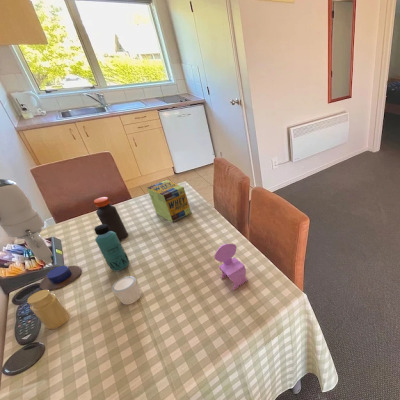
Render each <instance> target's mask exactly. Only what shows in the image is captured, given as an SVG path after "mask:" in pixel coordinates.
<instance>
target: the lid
mask: <svg viewBox="0 0 400 400" xmlns="http://www.w3.org/2000/svg"><path fill="white" fill-rule="evenodd" d="M71 274H72V273H71V271H70V270H69V268H68V267H67V265H59V266H57V267H54V268H52V269H51V270H49V271H48V272H47V273H46V276H47V278H48V279H49V280H50V282H51V283H59V282H62V281H64V280H66V279H67V278H69V277H70V276H71Z"/></svg>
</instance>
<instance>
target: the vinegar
mask: <svg viewBox="0 0 400 400" xmlns="http://www.w3.org/2000/svg"><path fill="white" fill-rule="evenodd" d="M110 201H111V200H110V199H109V197H107V196H102V197H101V196H100V197H98V198H95V199H94V200H93V203H94V206H95V207H96V208H97V209H96V211H95V213H96V215H97V217H98V219H99V221H100V224H101V225H102V224H106V225H108V227H109V228H110V231H112V232H115V233H116V235H117V237H118V239H119V241H120V242H122V241H123V240H125V239H127V238H128V236H129V233H128V231H127V229H126V226H125V225H124V222H123V221H122V218H121V217H120V214H119V212H118V210H117V208H116V206H115V205H112V204H111V202H110Z"/></svg>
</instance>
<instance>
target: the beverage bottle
mask: <svg viewBox="0 0 400 400" xmlns="http://www.w3.org/2000/svg"><path fill="white" fill-rule="evenodd" d="M94 232H95V235H97V236H96V237H95V241H94V242H95V243H96V245H97V246H98V248H99V251H100V252H101V254H102V257H103V259H104V260H105V262H106V264H107V266H108V268H109V269H110V270H111V271H112V272H118V271H121V270H123V269H125V268H127V267H128V266H129V265H130V259H129V256H128V254H127V253H126V251H125V248H124V247H123V245H122V243H121V241H119V239H118V237H117V235H116V233H115V232H112V231H110V228H109V227H108V225H106V224H102V223H101V224H98V225H97V226H95V227H94Z"/></svg>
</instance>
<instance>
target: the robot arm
mask: <svg viewBox="0 0 400 400" xmlns="http://www.w3.org/2000/svg"><path fill="white" fill-rule="evenodd" d="M0 227H1V229H2V230H4V232H5V234H6V235H7V236H8V237H10V238H16V239H17V240H24V242H25V243H26V245H27V246H28V248H29V249H30V251H31V252H32V254H33V255H34V257H35V258H36V259H37V260H38V261H43V262H44V264H45V265H49V264H52V263H53V261H54V260H53V259H52V257H51V256H53V253H52V250H51V249H50V248H49V246H48V245H47V243H46V242H45V240H44V238H43V237H42V236H41V234H40V233H41V232H42V231H43V228H44V227H45V222H44V221H43V219H42V217H41V216H40V213H39V212H38V211H37V210H36V209H35V208H33V206H32V203H31V200H30V198H29V197H28V196H27V194H26V192H25V191H24V190H23V189H22V187H21V186H20V185H18V183H16V182H15V181H13V180H10V179H4V178H0Z"/></svg>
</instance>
